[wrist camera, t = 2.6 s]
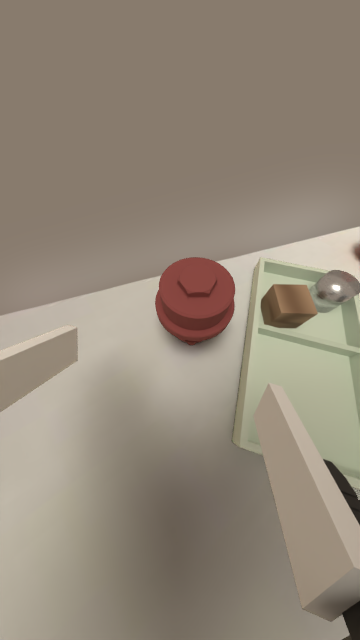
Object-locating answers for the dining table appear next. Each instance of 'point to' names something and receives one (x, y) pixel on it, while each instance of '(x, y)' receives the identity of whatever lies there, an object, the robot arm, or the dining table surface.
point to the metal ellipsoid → (333, 290)
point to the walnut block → (287, 306)
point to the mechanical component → (195, 299)
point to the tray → (304, 370)
